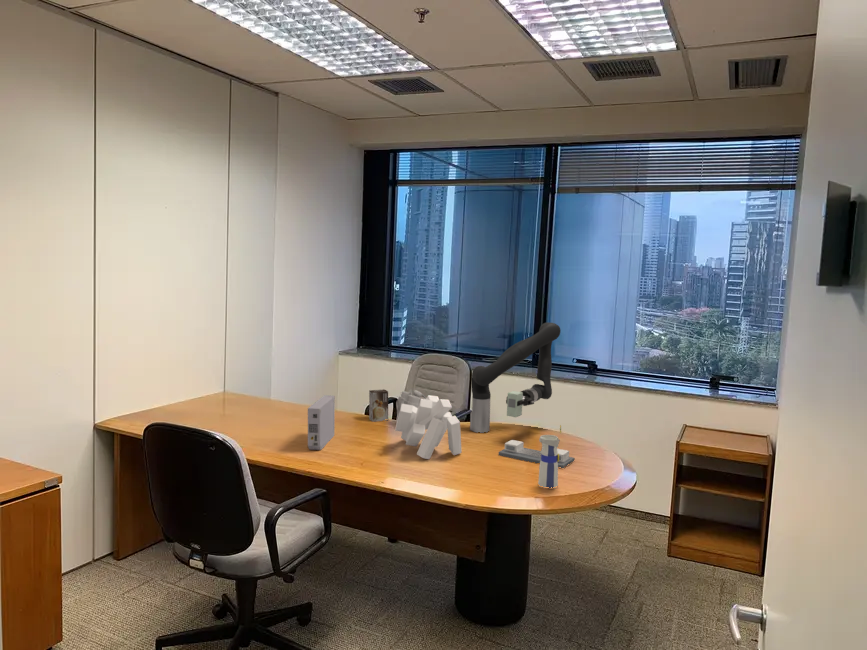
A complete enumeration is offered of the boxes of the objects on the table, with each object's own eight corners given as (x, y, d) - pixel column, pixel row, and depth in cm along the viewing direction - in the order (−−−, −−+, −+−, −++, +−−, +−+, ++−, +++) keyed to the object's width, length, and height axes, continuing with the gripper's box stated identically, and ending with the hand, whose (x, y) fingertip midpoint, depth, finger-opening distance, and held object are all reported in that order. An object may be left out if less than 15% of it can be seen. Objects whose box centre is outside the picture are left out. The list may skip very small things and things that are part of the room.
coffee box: (384, 417, 348) (385, 389, 346) (388, 420, 342) (388, 391, 340) (368, 419, 344) (369, 390, 342) (372, 421, 338) (372, 392, 337)
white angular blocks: (376, 460, 292) (378, 403, 272) (409, 423, 314) (413, 368, 294) (441, 492, 279) (448, 435, 259) (472, 451, 301) (480, 396, 281)
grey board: (498, 455, 285) (498, 452, 285) (511, 448, 296) (511, 445, 296) (563, 469, 268) (563, 465, 268) (574, 461, 279) (574, 457, 279)
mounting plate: (503, 450, 287) (503, 449, 287) (510, 447, 293) (510, 445, 293) (563, 463, 271) (563, 461, 271) (569, 459, 277) (570, 457, 277)
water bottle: (556, 481, 253) (558, 420, 251) (561, 489, 245) (563, 426, 242) (535, 481, 253) (538, 420, 250) (540, 489, 245) (542, 426, 242)
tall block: (506, 415, 301) (507, 393, 300) (512, 413, 306) (513, 391, 305) (515, 417, 298) (517, 394, 297) (521, 415, 303) (522, 392, 302)
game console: (335, 435, 313) (335, 395, 311) (320, 451, 286) (320, 408, 284) (324, 434, 313) (324, 395, 311) (307, 451, 286) (307, 408, 284)
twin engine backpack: (434, 434, 328) (443, 397, 328) (402, 429, 320) (411, 391, 320) (420, 426, 344) (429, 390, 344) (389, 421, 336) (398, 384, 336)
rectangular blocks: (504, 449, 286) (504, 443, 286) (511, 446, 293) (511, 439, 292) (562, 461, 271) (562, 455, 271) (568, 457, 277) (569, 450, 277)
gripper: (515, 387, 317) (499, 392, 303) (541, 391, 309) (526, 397, 295) (514, 402, 318) (498, 408, 303) (540, 406, 310) (525, 413, 296)
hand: (512, 402), depth 299 cm, fingers closed on tall block, 5 cm apart
